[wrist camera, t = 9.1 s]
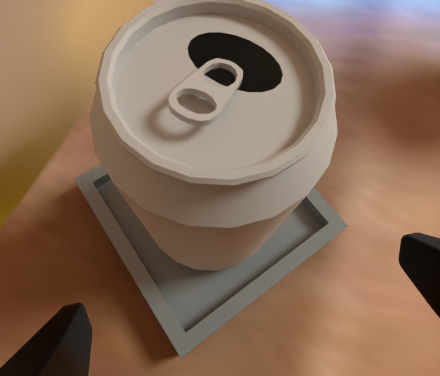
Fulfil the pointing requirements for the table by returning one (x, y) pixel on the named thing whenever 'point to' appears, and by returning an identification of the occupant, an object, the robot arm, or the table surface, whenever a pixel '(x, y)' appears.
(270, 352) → the table surface
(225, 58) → the can
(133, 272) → the slate dish
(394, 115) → the table surface
